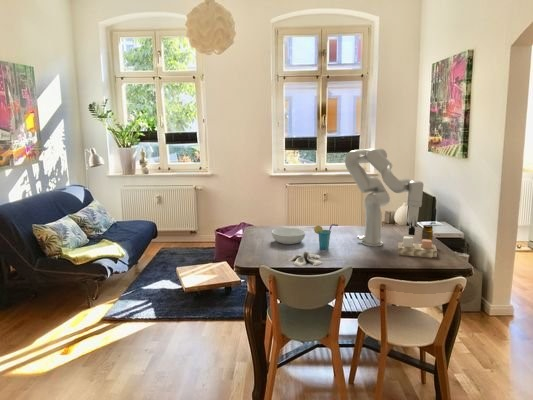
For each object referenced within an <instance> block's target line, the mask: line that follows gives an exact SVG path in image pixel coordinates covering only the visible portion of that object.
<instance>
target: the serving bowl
mask: <svg viewBox="0 0 533 400" xmlns="http://www.w3.org/2000/svg"><path fill="white" fill-rule="evenodd" d="M271 236H272V238H273V240H275V242H278V243H280V244H283V245H293V244H298V243H300V242H302V241H303V240H304V239H305V236H306V231H305V230H304V229H300V228H295V227H281V228H280V227H279V228H275V229H272V231H271Z"/></svg>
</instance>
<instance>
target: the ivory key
mask: <svg viewBox="0 0 533 400" xmlns="http://www.w3.org/2000/svg"><path fill="white" fill-rule="evenodd" d="M402 243H403V247H413V243H414V236H409V235H408V236H407V235H404V236H403V241H402Z"/></svg>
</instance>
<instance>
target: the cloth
mask: <svg viewBox="0 0 533 400" xmlns="http://www.w3.org/2000/svg"><path fill="white" fill-rule="evenodd" d="M320 257H321V256H320V255H319V254H315V253H314V254H311V253H310V252H309V251H308V250H305V251H303V253H302V254H295V255H294V256H292V257H291V258H290V259H288V260H287V261H288V262H293V261H294V262H293V265H295V266H298V267H303V266H305V265H307V263H310V264H311V265H312V264H313V265H315V266H318V265H321V263H322V261H321V260H318V259H320ZM322 264H323V263H322ZM313 265H312V266H313Z"/></svg>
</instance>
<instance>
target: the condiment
mask: <svg viewBox="0 0 533 400" xmlns="http://www.w3.org/2000/svg"><path fill="white" fill-rule="evenodd" d="M433 235H434V230H433V225H431V224H424V225H423V228H422V230H421V242H420V243H418V244H422V240H423V239H427V240H431V241H432V242H433V237H434V236H433ZM432 245H434V244H433V243H432Z"/></svg>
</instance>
